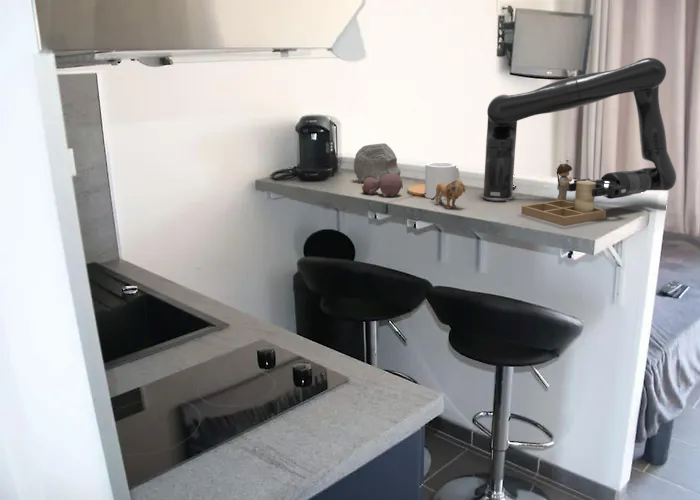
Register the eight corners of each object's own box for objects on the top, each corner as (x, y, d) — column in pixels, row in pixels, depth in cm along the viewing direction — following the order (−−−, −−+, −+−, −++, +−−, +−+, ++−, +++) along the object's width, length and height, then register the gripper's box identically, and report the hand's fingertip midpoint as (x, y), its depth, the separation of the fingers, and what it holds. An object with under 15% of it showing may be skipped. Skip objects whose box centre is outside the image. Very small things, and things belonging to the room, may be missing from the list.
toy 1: (364, 203, 220) (403, 201, 212) (355, 186, 215) (395, 183, 207) (371, 187, 225) (410, 184, 217) (363, 170, 220) (402, 167, 212)
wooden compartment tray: (521, 215, 187) (521, 205, 186) (561, 209, 194) (562, 199, 193) (563, 228, 173) (564, 217, 172) (605, 220, 180) (606, 210, 179)
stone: (350, 182, 239) (349, 142, 235) (361, 179, 244) (361, 140, 240) (391, 187, 228) (392, 145, 224) (402, 184, 234) (403, 143, 229)
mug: (444, 190, 223) (445, 160, 220) (467, 194, 215) (469, 163, 212) (418, 195, 214) (419, 164, 211) (441, 200, 207) (442, 168, 204)
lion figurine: (468, 208, 196) (469, 180, 193) (455, 211, 193) (456, 182, 190) (436, 200, 207) (437, 173, 205) (424, 202, 205) (425, 174, 202)
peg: (571, 214, 185) (575, 180, 182) (590, 215, 184) (594, 180, 181) (574, 218, 180) (578, 184, 177) (594, 219, 179) (597, 184, 176)
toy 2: (569, 206, 197) (573, 158, 193) (551, 204, 200) (555, 157, 195) (574, 202, 202) (578, 156, 198) (556, 201, 205) (560, 154, 200)
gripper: (601, 168, 191) (562, 173, 183) (642, 175, 179) (602, 181, 171) (599, 192, 193) (560, 198, 186) (639, 201, 181) (600, 208, 174)
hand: (580, 190), depth 178 cm, fingers open, 8 cm apart
